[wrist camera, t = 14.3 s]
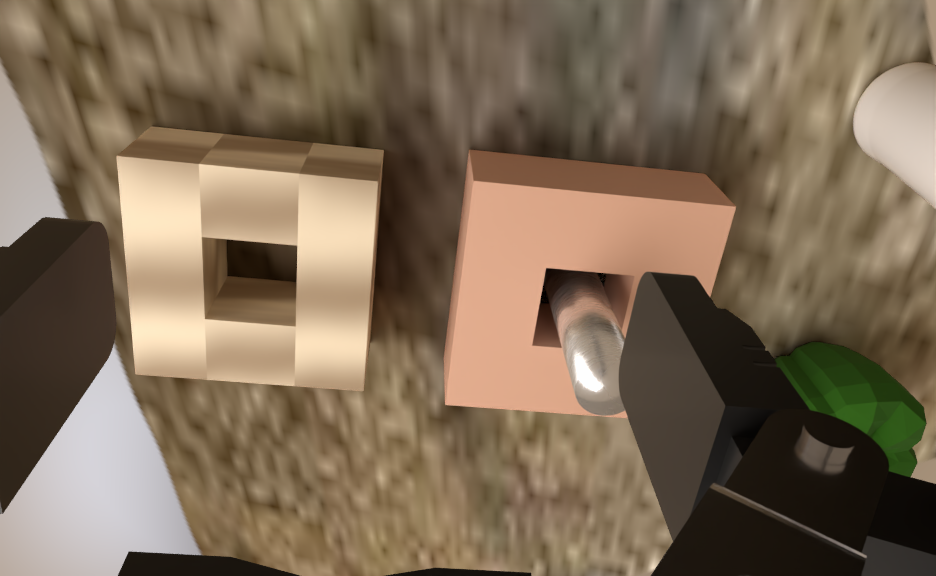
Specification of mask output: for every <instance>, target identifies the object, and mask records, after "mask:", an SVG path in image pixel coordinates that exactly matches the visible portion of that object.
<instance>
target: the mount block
mask: <svg viewBox="0 0 936 576" xmlns="http://www.w3.org/2000/svg"><path fill="white" fill-rule="evenodd" d="M383 155H384V150H379V149H369V148H359V147H349V146H339V145H330V144H320V143H310V142H300V141H290V140H280V139H270V138H261V137H251V136H241V135H231V134H221V133H211V132H201V131H192V130H182V129H172V128H162V127H152V126H151V127H150V128H149V129H148V130H146V131H145V132H144V133H143V134H142V135H141V136H139V137H138V138H137V139H136V140H135V141H134V142H132V143H131V144H130V145H129V146H128V147H127V148H125V149H124V150H123V151H122V152H121V153H120V154H118V155H117V166H118V177H119V189H120V200H121V212H122V224H123V235H124V247H125V258H126V270H127V281H128V293H129V304H130V316H131V327H132V339H133V351H134V362H135V374H138V375H152V376H165V377H179V378H192V379H206V380H219V381H233V382H246V383H260V384H273V385H287V386H300V387H314V388H327V389H341V390H354V391H364V384H365V377H366V369H367V362H368V355H369V347H370V337H371V323H372V309H373V295H374V281H375V267H376V253H377V239H378V225H379V211H380V197H381V183H382V169H383ZM227 239H230V240H241V241H252V242H263V243H274V244H286V245H297V282H290V281H279V280H267V279H255V278H244V277H232V276H227Z"/></svg>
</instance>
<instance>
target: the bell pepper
mask: <svg viewBox="0 0 936 576" xmlns="http://www.w3.org/2000/svg"><path fill="white" fill-rule="evenodd" d="M774 360H775V361H776V363H777V367H780V368H781V370H782V371H783V373H784V374H785V375H786V377H787V378H788V380H789V381H790V382H791V384H792V385H793V387H794V388H795V389H796V391H797V392H798V394H799V395H800V396H801V398H802V399H803V400H804V402H805V403H806V405H807V406H808V407H809V409H810V410H812V411H817V412H821V413H824V414H828V415H831V416H833V417H836V418H839V419H841V420H843V421H845V422H848V423H849V424H851V425H853V426H855V427H857V428H858V429H860V430H861V431H863V432H864V433H866V434H867V435H868V436H870V437H871V438H872V439H873V440H874V441H875V442H876V443H877V444H878V445H879V446H880V447H881V448H882V450H883V451H884V452H885V454H886V456H887V458H888V461H889V471H890V472H894V473H897V474H900V475H904V476H908V477H911V475H912V473H913V471H914V469H915V467H916V465H917V459H916V455H915V452H914V450H913V449H912V447H913V446H914V445H916V444H917V443H918V442H919V441H921V438H922V435H923V432H924V429H925V426H926V424H927V423H926V418H925V413H924V407H923V406H922V405H921V404H920V403H919V402H918V401H917V400H916V399H915V398H914V397H913V396H912V395H911V394H910V393H909V392H908V391H907V390H906V389H905V388H904V387H903V386H902V385H901V384H900V383H899V382H898V381H896V380H895V379H894V378H893V377H892V376H891V375H890V374H888V373H887V372H886V371H885V370H884V369H883V368H882V367H880V366H879V365H878V364H876V363H874V362H873V361H871V360H869V359H867V358H866V357H864V356H862V355H861V354H859V353H857V352H854V351H852V350H850V349H848V348H846V347H844V346H839V345H833V344H827V343H821V342H810V343H808V344H805V345H803V346H800V347H798V348H795V350H794V351H793V352H792V353H791V355H790V356H779V357H778V358H776V359H774Z"/></svg>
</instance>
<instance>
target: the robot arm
mask: <svg viewBox="0 0 936 576" xmlns="http://www.w3.org/2000/svg"><path fill="white" fill-rule="evenodd" d="M115 333H116V311H115V301H114V291H113V281H112V271H111V261H110V251H109V242H108V236H107V232H106V229H105V227H104V226H103V224H102V223H100V222H95V221H83V220H72V219H60V218H50V217H45V218H42V219H41V220H39V221H38V222H37V223H36V224H35V225H33V226H32V227H31V228H30V229H29V230H28V231H27V232H25V233H24V234H23V235H22V236H21V237H20V238H18V239H17V240H16V241H15V242H14V243H13V244H12V245H10V246H9V247H3V246H2V247H0V514H3V513H4V511H5V509H6V508H7V507H8V505H9V504H10V502H11V501H12V499H13V498H14V496H15V495H16V493H17V492H18V490H19V489H20V488H21V486H22V484H23V483H24V482H25V480H26V479H27V477H28V476H29V474H30V473H31V471H32V470H33V468H34V467H35V465H36V464H37V463H38V461H39V460H40V458H41V457H42V455H43V454H44V452H45V451H46V449H47V448H48V446H49V445H50V443H51V442H52V440H53V439H54V437H55V436H56V435H57V433H58V432H59V430H60V429H61V427H62V426H63V424H64V423H65V421H66V420H67V418H68V417H69V415H70V414H71V413H72V411H73V410H74V408H75V406H76V405H77V404H78V402H79V401H80V399H81V398H82V396H83V395H84V393H85V392H86V390H87V389H88V388H89V386H90V385H91V383H92V382H93V380H94V379H95V377H96V376H97V374H98V373H99V371H100V370H101V368H102V367H103V365H104V364H105V362H106V361H107V359H108V358H109V356H110V353H111V351H112V348H113V344H114V340H115ZM619 392H620V397H621V400H622V403H623V406H624V408H625V411H626V414H627V417H628V419H629V422H630V425H631V428H632V430H633V433H634V436H635V438H636V441H637V444H638V447H639V449H640V452H641V455H642V458H643V460H644V463H645V466H646V469H647V471H648V474H649V477H650V480H651V482H652V485H653V488H654V491H655V493H656V496H657V499H658V502H659V504H660V507H661V510H662V512H663V515H664V518H665V521H666V523H667V526H668V529H669V532H670V534H671V537H672V540H673V543H672V544H671V546H670V547H669V549H668V550H667V552H666V553H665V555H664V556H663V558H662V559H661V561H660V562H659V564H658V565H657V567H656V568H655V570H654V572H653V573H652V575H651V576H936V484H933V483H930V482H926V481H922V480H919V479H915V478H911V477H908V476H904V475H900V474H897V473H894V472H890V471H889V461H888V458H887V456H886V454H885V452H884V451H883V450H882V448H881V447H880V446H879V445H878V444H877V443H876V442H875V441H874V440H873V439H872V438H871V437H870V436H868V435H867V434H866V433H864V432H863V431H861V430H860V429H858V428H857V427H855V426H853V425H851V424H849V423H848V422H845V421H843V420H841V419H839V418H836V417H833V416H831V415H828V414H824V413H821V412H817V411H812V410H810V409H809V407H808V406H807V405H806V403H805V402H804V400H803V399H802V398H801V396H800V395H799V394H798V392H797V391H796V389H795V388H794V387H793V385H792V384H791V382H790V381H789V380H788V378H787V377H786V375H785V374H784V373H783V371H782V370H781V368H780V367H777V363H776V361H775V360H774V359H773V357H772V356H771V354H770V353H769V352H768V351H765V346H764V345H763V343H762V342H761V340H760V339H759V338H758V336H757V335H756V333H755V332H754V331H753V329H752V328H751V327H750V326H749V325H747V324H746V323H745V322H743V321H742V320H740V319H739V318H738V317H736V316H735V315H733V314H732V313H731V312H729V311H728V310H726V309H719V308H717V307H716V306H715V304H714V303H713V301H712V300H711V298H710V297H709V295H708V294H707V292H706V291H705V289H704V288H703V286H702V285H701V283H700V282H699V280H698V279H697V278H696V277H695V276H693V275H681V274H670V273H659V272H645V273H644V274H643V276H642V277H641V279H640V281H639V284H638V288H637V292H636V296H635V300H634V304H633V308H632V312H631V317H630V321H629V325H628V329H627V333H626V337H625V341H624V346H623V350H622V354H621V358H620V364H619ZM118 576H300V575H296V574H292V573H288V572H285V571H281V570H277V569H274V568H270V567H266V566H263V565H259V564H255V563H251V562H248V561H244V560H240V559H237V558H233V557H221V556H203V555H183V554H165V553H164V554H163V553H145V552H128V555H127V557H126V559H125V561H124V564H123V566H122V568H121V570H120V572H119V575H118ZM386 576H531V573H524V572H505V571H486V570H467V569H448V568H431V569H425V570H418V571H412V572H405V573H399V574H393V575H386Z"/></svg>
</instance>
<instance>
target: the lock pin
mask: <svg viewBox="0 0 936 576" xmlns="http://www.w3.org/2000/svg"><path fill="white" fill-rule="evenodd" d="M544 285H545V289H546V292H547V296H548V300H549V303H550V307H551V310H552V314H553V317H554V321H555V325H556V328H557V332H558V335H559V339H560V342H561V346H562V350H563V353H564V357H565V360H566V364H567V368H568V371H569V375H570V378H571V382H572V385H573V389H574V393H575V396H576V399H577V401H578V403H579V404H580V406H581V407H582V408H583V409H585V410H586V411H588V412H590V413H592V414H595V415H601V416H609V415H615V414H618V413H621V412H623V411H625V408H624V406H623V403H622V400H621V397H620V392H619V364H620V358H621V354H622V350H623V346H624V341H625V337H624V335H623V333H622V330H621V328H620V326H619V323H618V321H617V318H616V316H615V314H614V311H613V309H612V307H611V304H610V302H609V300H608V297H607V295H606V293H605V290H604V288H603V286H602V283H601V281H600V278H599V276H598V274H597V272H586V271H575V270H564V269H553V268H546V271H545V277H544Z"/></svg>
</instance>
